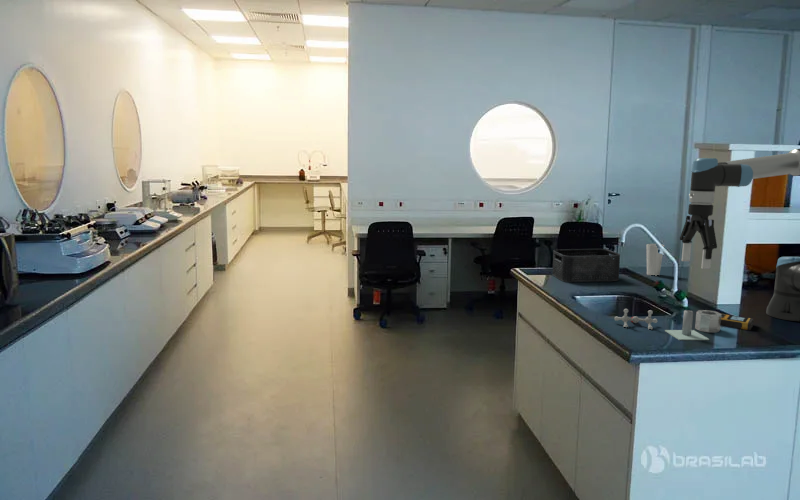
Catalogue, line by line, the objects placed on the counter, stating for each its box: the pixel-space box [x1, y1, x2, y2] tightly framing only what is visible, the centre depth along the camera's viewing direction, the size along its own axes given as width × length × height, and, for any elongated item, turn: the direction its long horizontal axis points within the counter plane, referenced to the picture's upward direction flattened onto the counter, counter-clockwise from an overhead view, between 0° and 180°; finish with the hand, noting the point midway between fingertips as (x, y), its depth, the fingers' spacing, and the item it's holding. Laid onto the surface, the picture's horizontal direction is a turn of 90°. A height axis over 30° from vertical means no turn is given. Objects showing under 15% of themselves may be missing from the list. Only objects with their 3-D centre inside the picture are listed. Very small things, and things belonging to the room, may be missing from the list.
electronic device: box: [720, 313, 755, 331], centre depth 211 cm, size 8×16×3 cm, turn 53°
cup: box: [646, 243, 665, 277], centre depth 297 cm, size 8×8×16 cm
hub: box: [694, 309, 723, 334], centre depth 203 cm, size 7×7×6 cm
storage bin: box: [552, 248, 621, 283], centre depth 288 cm, size 29×19×13 cm
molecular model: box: [614, 308, 658, 331], centre depth 209 cm, size 14×8×10 cm
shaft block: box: [664, 309, 710, 341], centre depth 196 cm, size 10×10×8 cm
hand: (695, 264), depth 202 cm, fingers open, 13 cm apart
